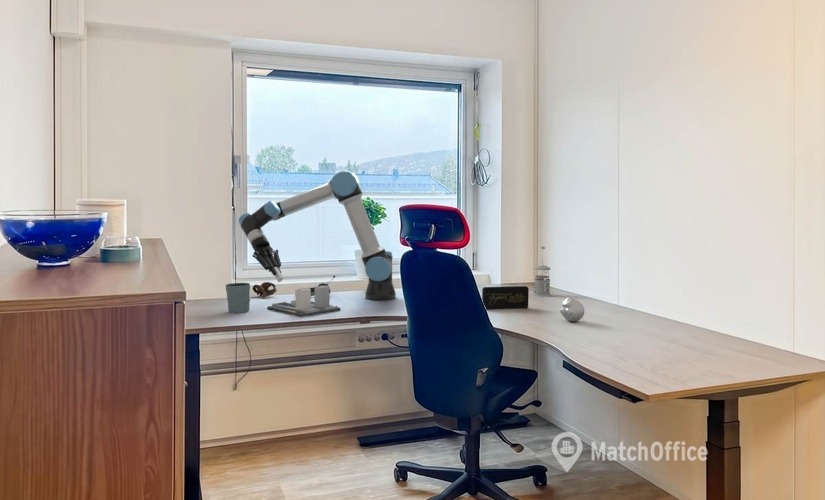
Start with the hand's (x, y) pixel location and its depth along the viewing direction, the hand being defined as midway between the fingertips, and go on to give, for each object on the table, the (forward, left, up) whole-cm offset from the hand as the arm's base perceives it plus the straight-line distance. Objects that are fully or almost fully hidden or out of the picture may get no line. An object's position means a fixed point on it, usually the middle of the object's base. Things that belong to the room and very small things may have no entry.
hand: (280, 279), depth 265 cm
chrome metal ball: (-114, +52, -13) cm, 126 cm away
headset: (-17, -34, -13) cm, 40 cm away
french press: (-131, -13, -13) cm, 132 cm away
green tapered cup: (+18, +4, -13) cm, 23 cm away
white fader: (-9, +13, -11) cm, 20 cm away
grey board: (-10, +6, -13) cm, 17 cm away
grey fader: (-18, +8, -11) cm, 22 cm away
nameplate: (-98, +20, -13) cm, 101 cm away
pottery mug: (+8, -35, -13) cm, 38 cm away
